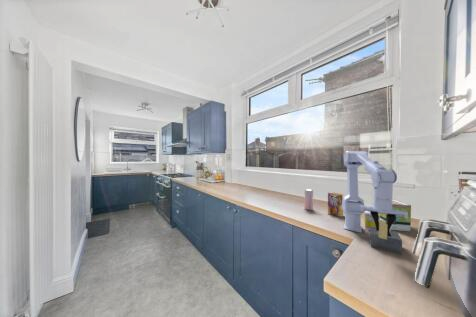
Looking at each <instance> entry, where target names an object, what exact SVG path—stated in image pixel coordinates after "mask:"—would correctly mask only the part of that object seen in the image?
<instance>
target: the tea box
mask: <svg viewBox="0 0 476 317" xmlns="http://www.w3.org/2000/svg"><path fill="white" fill-rule="evenodd" d="M392 209H394V210H399V211H404V212H407V213H408V218H404V217H400V216H396V220H395V221H394V223H393V224H392V225H391V227H390V230H392V231H399V232H401V231H402V232H411V227H412V226H411V223H412V222H411V221H412V220H411V219H412V205H411V204H408V203H405V202H402V201H400V200H396V199H393V198H392ZM380 220H385V221H386V214H381V213H380Z"/></svg>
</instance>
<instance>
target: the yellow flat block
mask: <svg viewBox="0 0 476 317" xmlns="http://www.w3.org/2000/svg"><path fill="white" fill-rule="evenodd" d="M378 225H379V231H377V233H378V236H379V238H382V239H387V223H386V221H385V220H379V221H378Z"/></svg>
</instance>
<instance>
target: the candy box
mask: <svg viewBox="0 0 476 317" xmlns="http://www.w3.org/2000/svg"><path fill="white" fill-rule="evenodd" d="M343 198H344V193H341V192H340V193H339V192H331V191H329V192H327V214H328V215H331V216H336V217H339V218H340V217H341V218H342V217H344V211H343V209H342V199H343Z"/></svg>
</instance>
